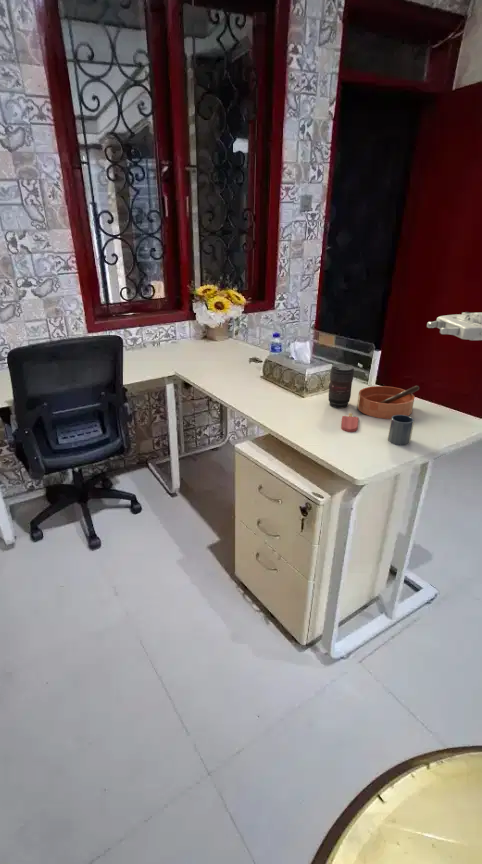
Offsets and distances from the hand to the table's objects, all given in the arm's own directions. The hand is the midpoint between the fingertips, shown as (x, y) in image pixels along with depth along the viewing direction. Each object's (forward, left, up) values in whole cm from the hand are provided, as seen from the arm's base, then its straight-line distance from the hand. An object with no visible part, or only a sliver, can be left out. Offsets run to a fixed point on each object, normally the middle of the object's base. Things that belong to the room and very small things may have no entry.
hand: (434, 327), depth 136 cm
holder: (+21, +21, -29) cm, 42 cm away
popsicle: (+29, +5, -29) cm, 41 cm away
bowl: (+12, -3, -29) cm, 32 cm away
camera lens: (+25, -12, -29) cm, 40 cm away
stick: (+15, -4, -28) cm, 32 cm away
